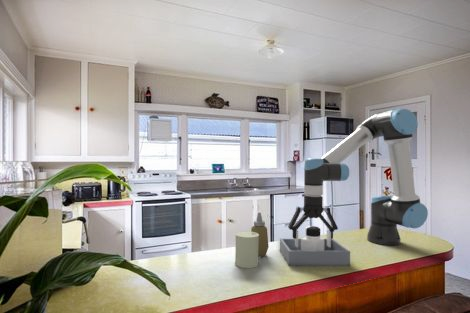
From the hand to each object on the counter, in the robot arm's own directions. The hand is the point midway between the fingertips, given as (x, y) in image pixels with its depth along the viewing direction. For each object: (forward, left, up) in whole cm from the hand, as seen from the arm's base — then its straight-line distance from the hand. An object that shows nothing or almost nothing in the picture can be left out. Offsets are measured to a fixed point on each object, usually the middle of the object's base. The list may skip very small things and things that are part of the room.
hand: (312, 246), depth 124 cm
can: (+28, +7, -5) cm, 29 cm away
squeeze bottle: (+22, -3, -5) cm, 23 cm away
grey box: (0, 0, -5) cm, 5 cm away
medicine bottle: (0, 0, -4) cm, 4 cm away
